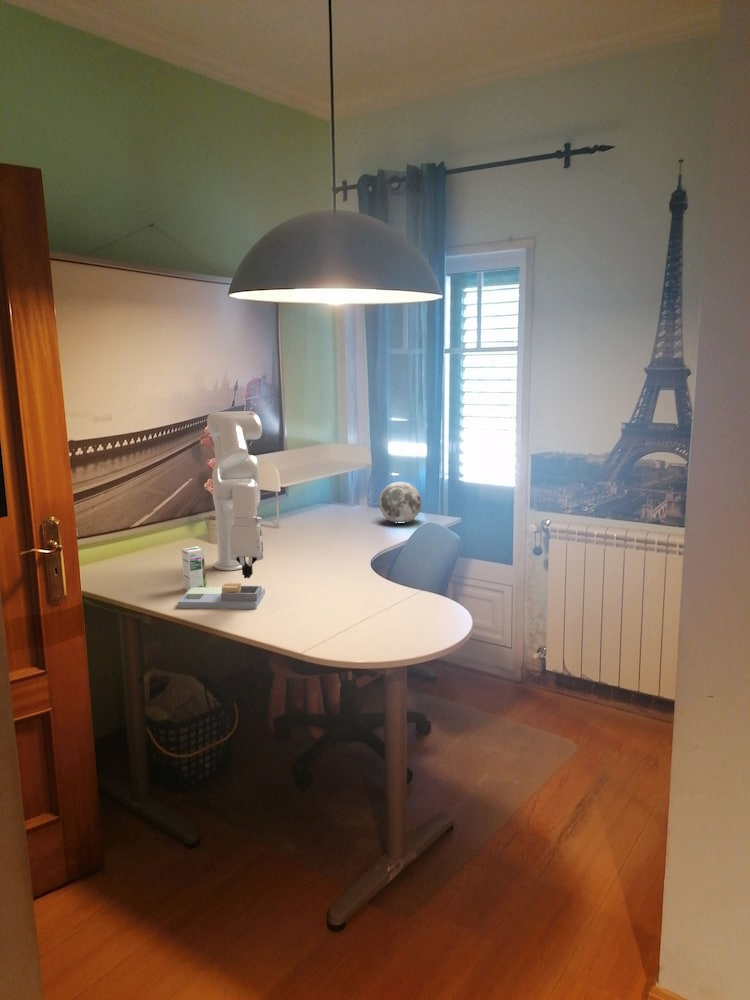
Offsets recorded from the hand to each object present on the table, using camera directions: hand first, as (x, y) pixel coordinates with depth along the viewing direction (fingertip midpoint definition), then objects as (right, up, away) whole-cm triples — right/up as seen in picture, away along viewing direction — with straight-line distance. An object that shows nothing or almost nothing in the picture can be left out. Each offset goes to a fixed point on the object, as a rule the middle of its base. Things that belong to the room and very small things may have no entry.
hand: (247, 577), depth 236 cm
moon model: (+53, +14, +114) cm, 126 cm away
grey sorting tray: (-9, -8, +5) cm, 13 cm away
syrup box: (-21, -6, +16) cm, 27 cm away
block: (-6, -7, +2) cm, 9 cm away
